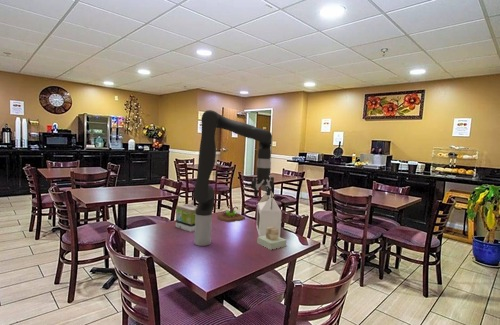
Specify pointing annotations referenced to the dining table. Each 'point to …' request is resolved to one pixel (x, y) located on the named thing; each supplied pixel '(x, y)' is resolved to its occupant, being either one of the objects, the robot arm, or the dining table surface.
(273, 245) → the sage plinth
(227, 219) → the plant
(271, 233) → the maple block
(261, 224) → the gable box
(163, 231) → the dining table surface
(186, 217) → the tea box
